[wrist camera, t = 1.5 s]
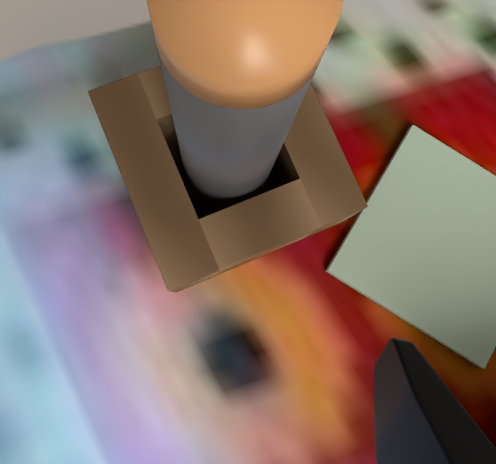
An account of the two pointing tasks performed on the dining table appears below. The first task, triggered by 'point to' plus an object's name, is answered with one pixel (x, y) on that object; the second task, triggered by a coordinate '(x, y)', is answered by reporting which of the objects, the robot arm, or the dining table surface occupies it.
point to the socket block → (232, 218)
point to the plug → (237, 84)
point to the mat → (429, 246)
